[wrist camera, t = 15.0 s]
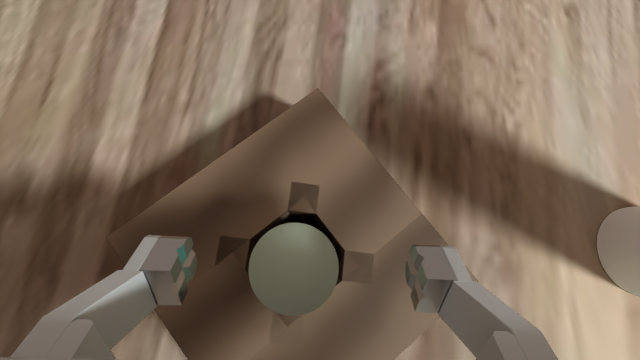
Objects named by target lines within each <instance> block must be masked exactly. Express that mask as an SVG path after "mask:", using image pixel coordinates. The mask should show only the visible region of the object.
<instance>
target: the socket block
mask: <svg viewBox="0 0 640 360" xmlns="http://www.w3.org/2000/svg"><path fill="white" fill-rule="evenodd" d="M290 216H296V217H304V218H313V219H314V220H315V221H316V223H317V224H318V225H319V226H320V228H321V229H322V230H323V232H324V233H325V234H326V235H327V237H328V238H329V239H330V241H331V242H332V243H333V244H334V246H335V247H336V254H337V258H338V264H339V273H338V279H337V283H336V286H335V288H334V290H333V292H332V294H331V295H330V297H329V298H328V299H327V300H326V301H325V302H324V303H323V304H322V305H321V306H320V307H319V308H317V309H315V310H314V311H312V312H309V313H307V314H303V315H298V316H287V315H282V314H279V313H276V312H274V311H272V310H270V309H269V308H267V307H266V306H265V305H264V304H262V303H261V302H260V300H259V299H258V298H257V296H256V295H255V293H254V291H253V289H252V287H251V284H250V280H249V261H250V256H251V254H252V251H253V249H254V247H255V245H256V244H257V242H258V241H259V240H260V238H261V237H262V236H263V235H264V234H266V233H267V232H268V231H269V230H271V229H273V228H275V227H277V226H278V225H279V224H281V223H282V222H283V221H284V220H286V219H287V218H288V217H290ZM147 235H159V236H162V235H164V236H181V237H190V238H192V241H193V244H194V245H193V247H192V250H193V251H194V252H195V253H196V256H197V267H196V272H195V275H194V277H193V279H192V280H190V281H189V282H188V283H187V285H188V291H187V294H186V296H185V299H184V301H183V303H182V305H157V307H156V308H155V309H154V310H155V311H156V313H157V314H158V316H159V317H160V319H161V320H162V322H163V323H164V325H165V326H166V328H167V329H168V331H169V332H170V334H171V335H172V336H173V338H174V339H175V341H176V342H177V344H178V345H179V347H180V348H181V350H182V351H183V353H184V354H185V356H186V357H187V359H188V360H394V359H395V358H396V357H397V356H399V355H400V354H401V353H402V352H403V351H404V350H405V349H406V348H407V347H408V346H409V345H410V344H411V343H413V342H414V341H415V340H416V339H417V338H418V337H419V336H420V335H421V334H422V333H423V332H424V331H425V330H427V329H428V328H429V327H430V326H431V325H432V324H433V323H434V322H435V321H436V320H437V319H438V318H439V317H440V316H439V315H438V314H439V313H424V312H415V310H414V307H413V303H412V300H411V296H410V295H411V292H412V289H411V288H410V287H409V286H408V285H407V282H406V277H405V266H406V262H407V260H408V259H409V258H410V257H411V255H410V252H409V251H410V248H411V246H412V245H448V244H447V243H446V242H445V241H444V239H443V238H442V237H441V236H440V235H439V233H438V232H437V231H436V230H435V229H434V227H433V226H432V225H431V224H430V222H429V221H428V220H427V219H426V218H425V216H424V215H423V214H422V213H421V212H420V210H419V209H418V208H417V207H416V206H415V204H414V203H413V202H412V201H411V200H410V198H409V197H408V196H407V195H406V194H405V192H404V191H403V190H402V189H401V188H400V186H399V185H398V184H397V183H396V182H395V180H394V179H393V178H392V177H391V175H390V174H389V173H388V172H387V171H386V169H385V168H384V167H383V166H382V165H381V163H380V162H379V161H378V160H377V159H376V157H375V156H374V155H373V154H372V153H371V151H370V150H369V149H368V148H367V147H366V145H365V144H364V143H363V142H362V141H361V139H360V138H359V137H358V136H357V135H356V133H355V132H354V131H353V130H352V128H351V127H350V126H349V125H348V124H347V122H346V121H345V120H344V119H343V118H342V116H341V115H340V114H339V113H338V112H337V110H336V109H335V108H334V107H333V106H332V104H331V103H330V102H329V101H328V100H327V98H326V97H325V96H324V95H323V94H322V92H321V91H320V90H319V89H318V88H317V89H316V90H314V91H313V92H311V93H310V94H309V95H307V96H306V97H304V98H303V99H302V100H300V101H299V102H297V103H296V104H294V105H293V106H292V107H290V108H289V109H287V110H286V111H285V112H283V113H282V114H280V115H279V116H277V117H276V118H275V119H273V120H272V121H270V122H269V123H267V124H266V125H265V126H263V127H262V128H260V129H259V130H258V131H256V132H255V133H253V134H252V135H250V136H249V137H248V138H246V139H245V140H243V141H242V142H240V143H239V144H238V145H236V146H235V147H233V148H232V149H231V150H229V151H228V152H226V153H225V154H223V155H222V156H221V157H219V158H218V159H216V160H215V161H214V162H212V163H211V164H209V165H208V166H206V167H205V168H204V169H202V170H201V171H199V172H198V173H196V174H195V175H194V176H192V177H191V178H189V179H188V180H187V181H185V182H184V183H182V184H181V185H179V186H178V187H177V188H175V189H174V190H172V191H171V192H170V193H168V194H167V195H165V196H164V197H162V198H161V199H160V200H158V201H157V202H155V203H154V204H152V205H151V206H150V207H148V208H147V209H145V210H144V211H143V212H141V213H140V214H138V215H137V216H135V217H134V218H133V219H131V220H130V221H128V222H127V223H125V224H124V225H123V226H121V227H120V228H118V229H117V230H116V231H114V232H113V233H111V234H110V235H108V236H107V237H106V239H107V240H108V242H109V243H110V245H111V246H112V248H113V249H114V251H115V252H116V254H117V255H118V257H119V258H120V260H121V261H122V263H123V264H124V266H125V265H126V264H127V262H128V261H129V259H130V258H131V256H132V255H133V253H134V252H135V250H136V249H137V247H138V246H139V244H140V243H141V241H142V240H143V239H144V237H146V236H147ZM465 267H466V266H465ZM466 269H467V271H468V273H469V275H470V277H471V279H472V281H476V282H478V280H477V279H476V278H475V277H474V276H473V274H472V273H471V272H470V271H469V270H468V268H467V267H466Z"/></svg>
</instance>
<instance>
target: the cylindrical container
mask: <svg viewBox="0 0 640 360" xmlns="http://www.w3.org/2000/svg"><path fill="white" fill-rule="evenodd" d="M597 251H598V256H599V259H600V262H601V264H602V267H603V268H604V270H605V272H606V273H607V275H608V276H609V277H610V278H611V279H612V281H613V282H614V283H615V284H617V285H618V286H619V287H620V288H622V289H623V290H625V291H627V292H629V293H631V294H634V295H637V296H640V206H635V207H624V208H621V209H617V210H615V211H614V212H612V213H610V214H609V215H608V216H607V217H606V218H605V219H604V221H603V222H602V224H601V225H600V228H599V231H598V235H597Z"/></svg>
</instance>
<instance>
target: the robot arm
mask: <svg viewBox="0 0 640 360" xmlns="http://www.w3.org/2000/svg"><path fill="white" fill-rule="evenodd" d="M193 245H194V244H193V241H192V238H190V237H181V236H164V235H162V236H159V235H147V236H146V237H144V239H143V240H142V241H141V243H140V244H139V246H138V247H137V249H136V250H135V252H134V253H133V255H132V256H131V258H130V259H129V261H128V262H127V264H126V265H125V267H124V268H123V270H117V271H116V272H114V273H112V274H111V275H109V276H108V277H106V278H104V279H103V280H101V281H100V282H98V283H96V284H95V285H93V286H91V287H90V288H88V289H87V290H85V291H83V292H82V293H80V294H79V295H77V296H75V297H74V298H72V299H71V300H69V301H67V302H66V303H64V304H63V305H61V306H59V307H58V308H56V309H54V310H53V311H51V312H50V313H48V314H46V315H45V316H43V317H42V318H41V319H40V321H39V322H38V323H37V324H36V325H35V327H34V328H33V329H32V330H31V332H30V333H29V334H28V335H27V337H26V338H25V339H24V340H23V341H22V343H21V344H20V345H19V346H18V348H17V349H16V350H15V351H14V353H13V354H12V355H11V356H10V357H0V360H117V359H116V358H115V356H114V354H113V353H112V351H111V349H112V348H113V347H114V346H115V345H116V344H117V343H118V342H119V341H120V340H122V339H123V338H124V337H125V336H126V335H127V334H128V333H129V332H130V331H131V330H132V329H133V328H135V327H136V326H137V325H138V324H139V323H140V322H141V321H142V320H143V319H144V318H145V317H146V316H148V315H149V314H150V313H151V312H152V311H153V310H154V309H155V308H156V307H157V305H182V303H183V301H184V299H185V296H186V294H187V291H188V285H187V283H188V282H189V281H190V280H192V279H193V277H194V275H195V272H196V267H197V256H196V253H195V252H194V251H193V250H192V247H193ZM409 252H410V255H411V257H410V258H409V259H408V260H407V262H406V266H405V277H406V282H407V285H408V286H409V287H410V288H411V289H412V292H411V295H410V296H411V300H412V303H413V307H414V310H415V312H424V313H439V314H438V315H439V316H440V317H441V318H442V319H443V320H444V322H445V323H446V324H447V325H448V326H449V327H450V328H451V330H452V331H453V332H454V333H455V334H456V335H457V336H458V337H459V339H460V340H461V341H462V342H463V343H464V344H465V345H466V347H467V348H468V349H469V350H470V351H471V352H472V353H473V355H474V356H475V357H476V358H477V359H476V360H558V358H557V357H556V355H555V354H554V352H553V350H552V349H551V347H550V345H549V344H548V342H547V341H546V339H545V337H544V336H543V334H542V332H541V331H540V330H539V329H537V328H536V327H535V326H533V325H532V324H531V323H530V322H528V321H527V320H526V319H524V318H523V317H522V316H520V315H519V314H518V313H517V312H515V311H514V310H513V309H511V308H510V307H509V306H508V305H506V304H505V303H504V302H502V301H501V300H500V299H499V298H497V297H496V296H495V295H493V294H492V293H491V292H490V291H488V290H487V289H486V288H484V287H483V286H482V285H481V284H479V283H478V282H476V281H472V279H471V277H470V275H469V273H468V271H467V269H466V267H465V265H464V263H463V261H462V259H461V257H460V255H459V253H458V251H457V249H456V248H455V247H454V246H450V245H412V246H411V248H410V251H409Z"/></svg>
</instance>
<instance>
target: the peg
mask: <svg viewBox="0 0 640 360" xmlns="http://www.w3.org/2000/svg"><path fill="white" fill-rule="evenodd" d="M338 273H339V264H338V258H337V254H336V251H335V249H334V247H333V245H332V243H331V242H330V240H329V239H328V238H327V237H326V236H325V235H324V234H323V233H322V232H321V231H319V230H318V229H316V228H314V227H312V226H310V225H307V224H303V223H286V224H282V225H279V226H277V227H275V228H273V229H271V230H269V231H268V232H267V233H266V234H264V235H263V236H262V237H261V238H260V240H259V241H258V242H257V244H256V245H255V247H254V249H253V251H252V254H251V256H250V261H249V280H250V284H251V287H252V289H253V291H254V293H255V295H256V296H257V298H258V299H259V300H260V302H261V303H262V304H264V305H265V306H266V307H267V308H269V309H270V310H272V311H274V312H276V313H279V314H282V315H287V316H298V315H303V314H307V313H309V312H312V311H314V310H315V309H317V308H319V307H320V306H321V305H322V304H323V303H324V302H325V301H326V300H327V299H328V298H329V297H330V295H331V294H332V292H333V290H334V288H335V286H336V283H337V279H338Z"/></svg>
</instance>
